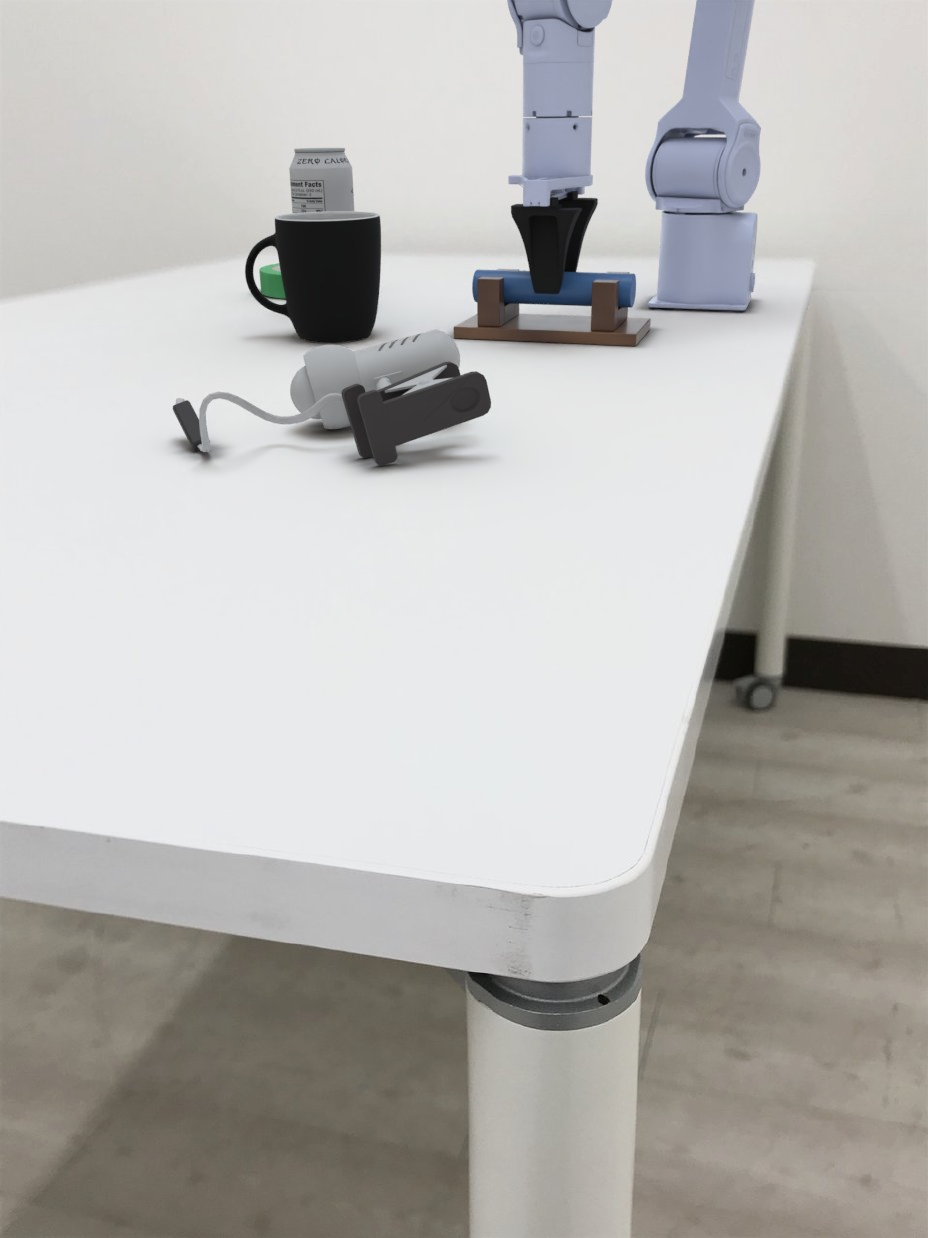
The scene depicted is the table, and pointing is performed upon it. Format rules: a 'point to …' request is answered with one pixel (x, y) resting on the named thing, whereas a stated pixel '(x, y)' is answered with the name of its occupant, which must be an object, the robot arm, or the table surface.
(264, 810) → the table surface
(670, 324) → the table surface
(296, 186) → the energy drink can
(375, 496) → the table surface
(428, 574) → the table surface
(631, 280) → the handle
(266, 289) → the tape roll
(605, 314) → the holder
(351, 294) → the mug
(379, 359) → the clip-on lamp
